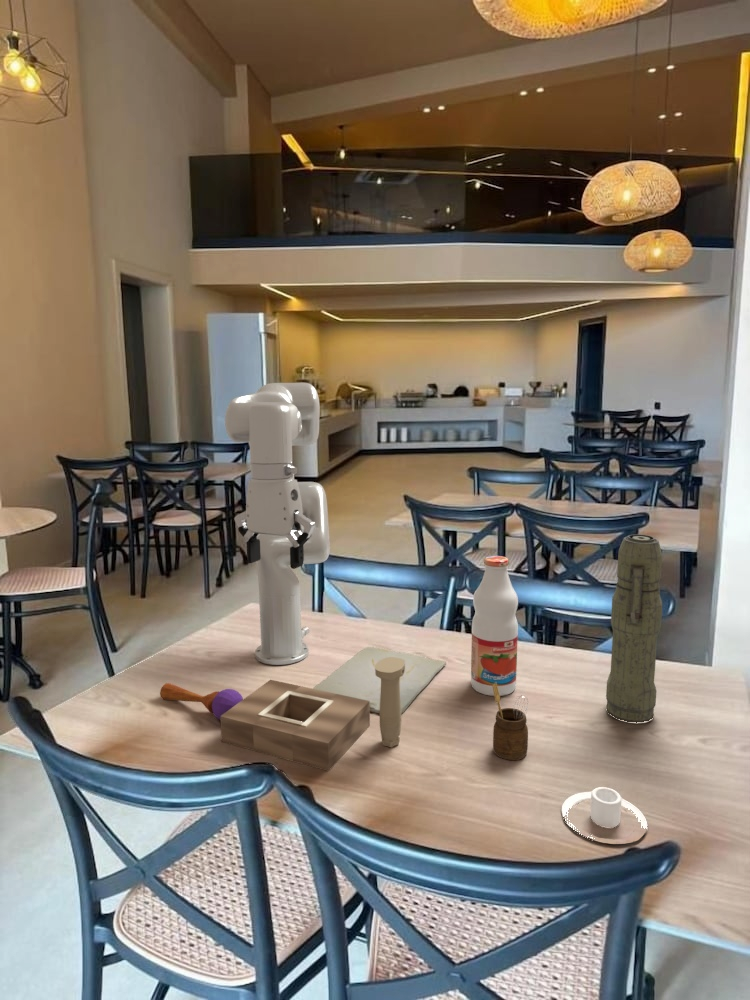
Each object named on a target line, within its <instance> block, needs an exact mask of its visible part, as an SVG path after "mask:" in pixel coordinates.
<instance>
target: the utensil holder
mask: <svg viewBox="0 0 750 1000" xmlns="http://www.w3.org/2000/svg"><path fill="white" fill-rule="evenodd" d="M495 685H496V686H495ZM492 686H493V691H494V696H493V697H494V701H495V703H497V707H498V711H496V715H495V722H494V724H493V730H492V734H493V735H492V747H493V748H492V749H493V751H494V753H495V755H497V756H498V757H500V758H502V759H504V760H506V761H518V760H522V759H524V757H526V756H527V753H528V745H529V743H528V742H529V728H528V725H527V721H528V720H527V716H526V713H525V710H528V709H529V707H526V709H525V706H529V702H527V703H526V704H527V705H524V707H523V705H522V706H521V702H522V699H523V702H522V704H525V699H526V701H529V700H528V698H526V696H525V695H519V696H517V698H518V699H517V698H516V699H515V700H514V705H516V704H517V705H516V707H520V706H521V709H520V708H515V706H513V707H505V708H502V707H501V704H500V703H501V702H500V701H501V696H500V695H499V691H498V687H497V683H496V682H495V683H494V685H492ZM520 698H521V700H520ZM517 702H519V703H517ZM518 704H519V705H518ZM522 709H525V710H523V711H522Z"/></svg>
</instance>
